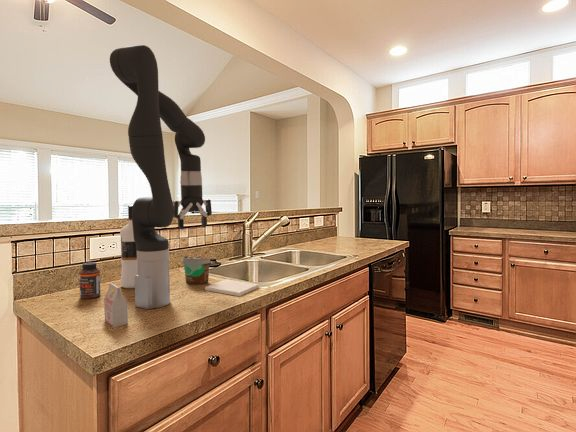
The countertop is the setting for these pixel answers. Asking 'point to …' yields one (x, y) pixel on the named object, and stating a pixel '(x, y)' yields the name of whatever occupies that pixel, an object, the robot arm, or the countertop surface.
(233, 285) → the cutting board
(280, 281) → the countertop surface
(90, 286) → the supplement bottle
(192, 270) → the food container
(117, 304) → the white milk carton
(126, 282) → the vodka
